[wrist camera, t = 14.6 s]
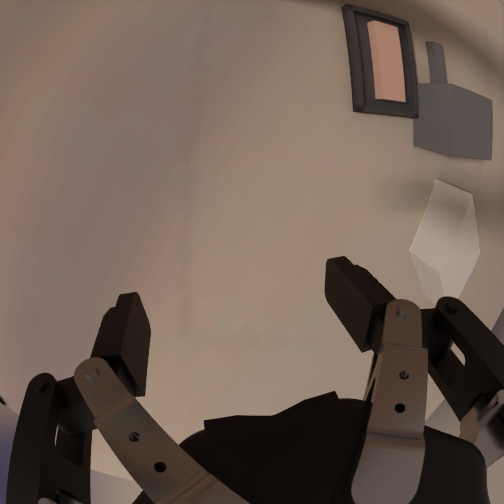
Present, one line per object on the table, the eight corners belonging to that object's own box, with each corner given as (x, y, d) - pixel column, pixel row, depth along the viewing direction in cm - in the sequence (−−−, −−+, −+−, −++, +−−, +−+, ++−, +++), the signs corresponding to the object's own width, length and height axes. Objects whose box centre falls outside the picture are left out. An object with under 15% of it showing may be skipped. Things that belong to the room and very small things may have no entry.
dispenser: (406, 35, 32) (444, 28, 23) (451, 53, 34) (486, 52, 25) (413, 146, 42) (452, 156, 33) (456, 149, 44) (491, 160, 35)
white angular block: (455, 175, 47) (489, 189, 38) (441, 283, 60) (466, 304, 51) (411, 183, 45) (449, 200, 36) (401, 302, 59) (426, 328, 50)
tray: (341, 7, 29) (346, 4, 27) (402, 23, 31) (408, 21, 29) (353, 111, 38) (359, 111, 36) (411, 117, 39) (418, 117, 38)
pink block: (367, 23, 30) (373, 20, 28) (390, 29, 30) (397, 27, 29) (375, 98, 36) (382, 98, 34) (398, 101, 37) (405, 102, 35)
